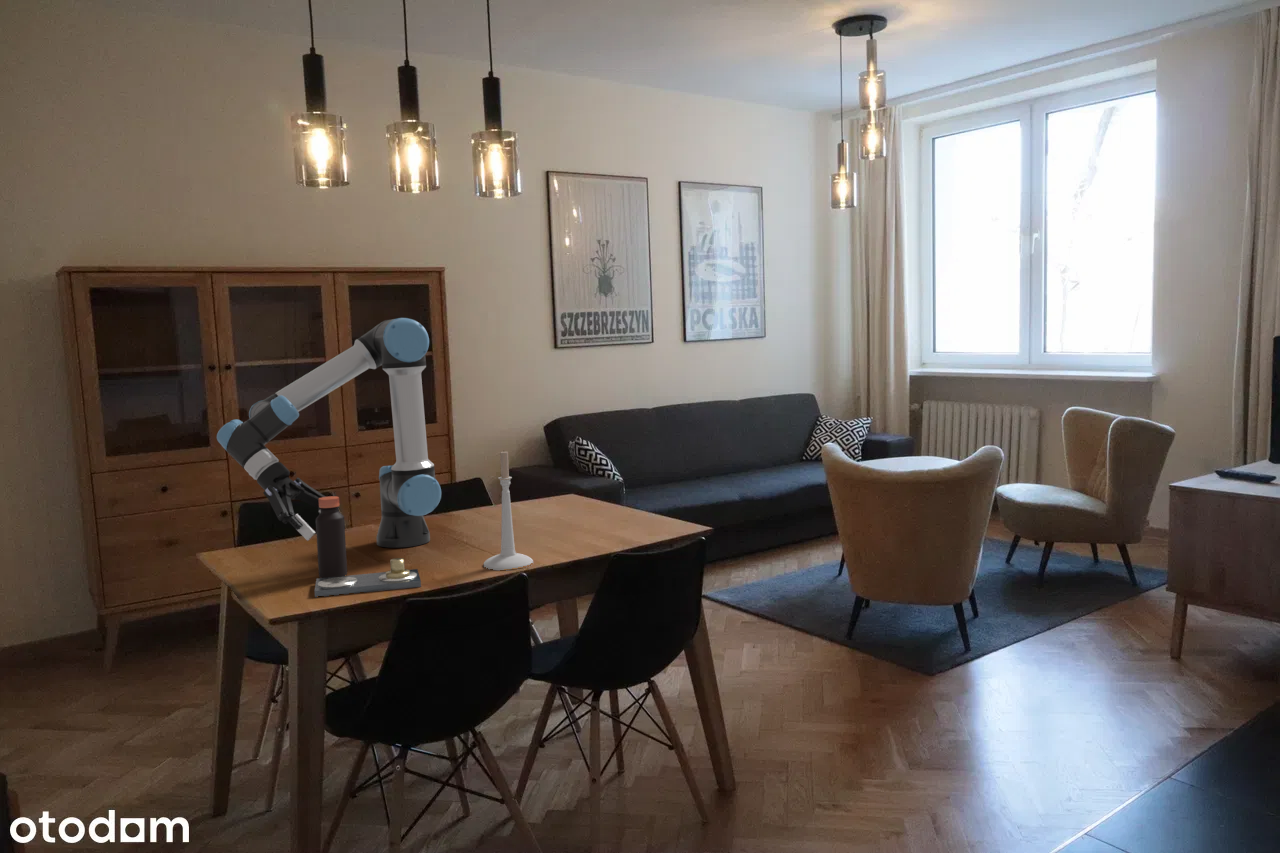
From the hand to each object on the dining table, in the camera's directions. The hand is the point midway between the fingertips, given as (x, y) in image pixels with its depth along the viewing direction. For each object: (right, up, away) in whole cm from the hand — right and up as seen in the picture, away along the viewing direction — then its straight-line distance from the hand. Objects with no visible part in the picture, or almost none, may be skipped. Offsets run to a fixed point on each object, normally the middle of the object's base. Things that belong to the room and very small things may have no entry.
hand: (326, 530), depth 233 cm
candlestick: (+44, -10, +9) cm, 47 cm away
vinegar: (+1, -12, +2) cm, 12 cm away
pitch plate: (+13, -12, -8) cm, 20 cm away
